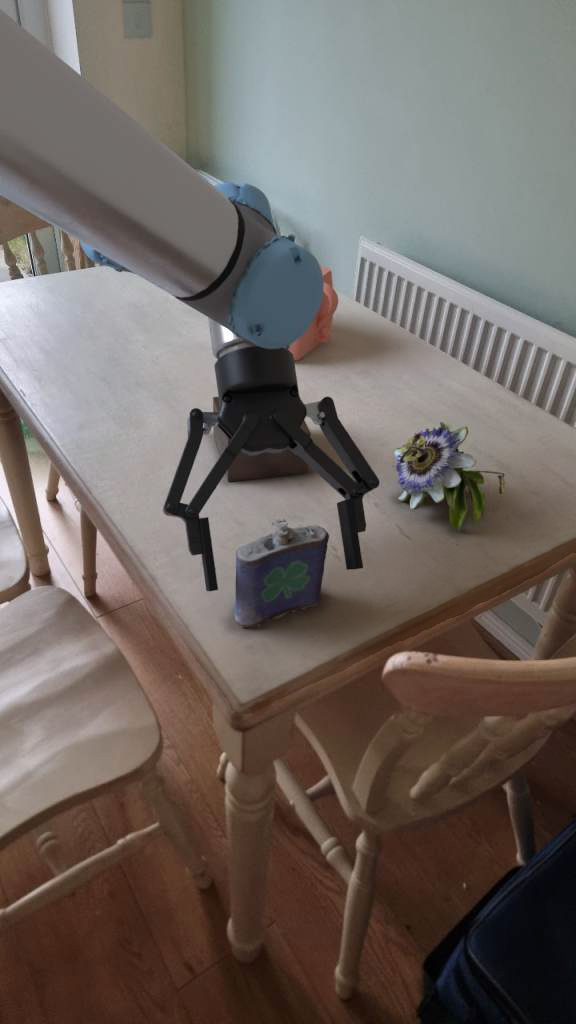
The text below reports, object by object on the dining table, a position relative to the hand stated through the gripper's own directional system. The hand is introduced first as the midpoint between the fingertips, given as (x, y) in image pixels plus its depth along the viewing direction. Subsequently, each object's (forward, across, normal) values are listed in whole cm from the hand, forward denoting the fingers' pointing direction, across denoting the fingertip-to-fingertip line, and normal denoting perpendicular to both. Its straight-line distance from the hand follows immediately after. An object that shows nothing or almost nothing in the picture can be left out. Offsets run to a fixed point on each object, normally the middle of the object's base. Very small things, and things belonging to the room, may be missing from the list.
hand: (285, 580), depth 64 cm
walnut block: (-16, -4, -23) cm, 28 cm away
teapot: (-36, -12, -44) cm, 58 cm away
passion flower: (-6, -23, -14) cm, 28 cm away
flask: (+3, 0, -5) cm, 6 cm away
